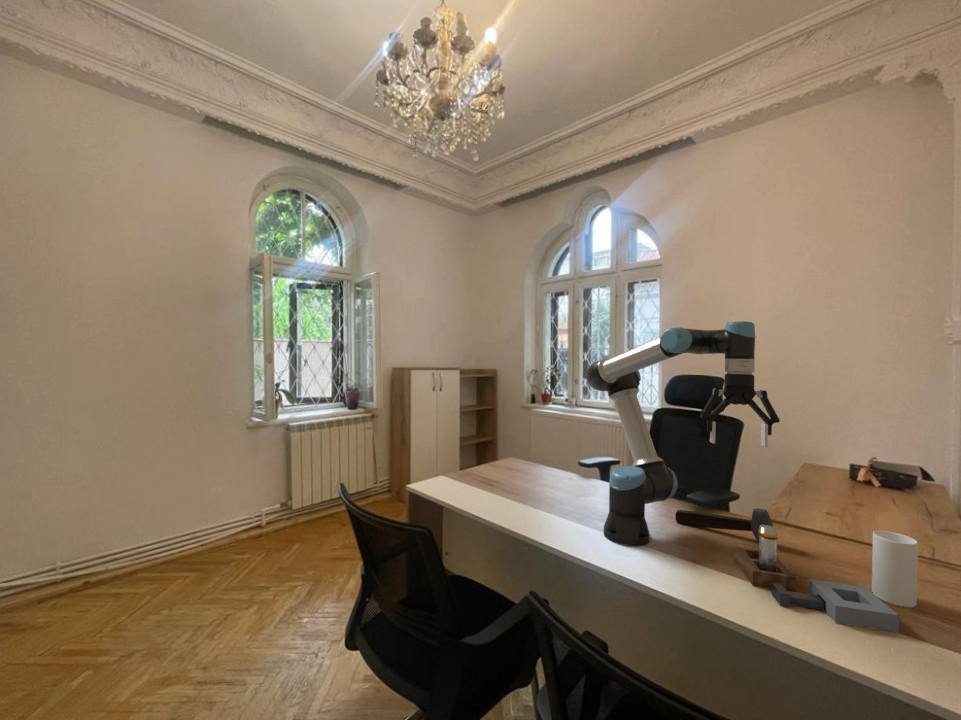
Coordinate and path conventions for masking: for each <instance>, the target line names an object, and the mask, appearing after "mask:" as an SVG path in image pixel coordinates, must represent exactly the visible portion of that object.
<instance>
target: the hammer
mask: <svg viewBox="0 0 961 720" xmlns="http://www.w3.org/2000/svg"><path fill="white" fill-rule="evenodd" d="M674 515H675V521H676V523H677V524H678V525H682V526H687V527H692V528H693V527H694V528H703V529H705V528H706V529H717V530H718V529H719V530H730V531H732V530H733V531H741V532H742V531H743V532H745V531H746V532H752V534H753V536H754V538H755V540H756V542H757V543H758V544H759V529H760V525H769V526H773V527H774V524H773V522H772V519H771V517H770V514H769V512H768V510H767V509H765V508H753V510H752V514H751V519H745V518H739V517H734V516H727V515H720V514H715V513H714V514H713V513H708V512H704V511H703V512H701V511H696V510H695V511H694V510H687V509H686V510H685V509H683V510H682V509H678V510H676V511H675V513H674Z"/></svg>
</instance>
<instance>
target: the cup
mask: <svg viewBox="0 0 961 720" xmlns="http://www.w3.org/2000/svg"><path fill="white" fill-rule="evenodd" d="M918 547H919V543H918V540H916V539H915V538H912V537H910V536H908V535H904V534H901V533H897V532H893V531H888V530H873V531H872V555H871V557H872V558H871V559H872V561H871V563H872V564H871V565H872V566H871V567H872V570H871V571H872V572H871V593H872V592H873V593H872V594H874V595H875V596H876V597H877V598H879V599H880V600H881V601H884V602H886V603H888V604H892V605H894V606H895V605H896V606H898V605H899V607H903V606H904V608H915V607H914V606H916V605H917V606H918V563H919V561H918V557H919V556H918V555H919V554H918V553H919V548H918ZM917 606H916V607H917Z"/></svg>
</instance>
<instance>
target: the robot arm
mask: <svg viewBox="0 0 961 720" xmlns="http://www.w3.org/2000/svg"><path fill="white" fill-rule="evenodd" d="M755 328H756V327H755V323H753V322H752V321H745V320H744V321H743V320H742V321H740V320H739V321H731V322H730V321H729V322H726V323H725V327H724V329H714V330H713V329H711V330H710V329H694V328H684V327H670V328H668V329H666V330H665V329H664V332H663V333H662V334H661V336H659V337H657V338H654V339H652V340H650V341H647V342H645V343H643V344H641V345H639V346H636V347H634V348H631V349H629V350H626V351H625V352H623V353H620V354H618V355H615V356H613V357H611V358H607V357H604V358H602V359H599V360H597V361H594V362H593V363H592V364H591V365H589V366H588V368H587V369H586V370H587V371H586V377H585V378H586V381H587V383H588V384H589V387H591V388H592V389H594V390H596V391H599V392H607V395H608V397H609V399H610V400H611V401H613V402H614V404H615V406H616V410H617V412H618V413H617V414H618V415H619V420H620V422H621V425H622V429H623V432H624V435H625V438H626V441H627V444H628V447H629V450H630V454H631V456H632V460H633V463H632V465H628V466H627V465H622V466H617V467H614V468H613V469H612V470H611V471H610V475H609V479H608V481H609V483H608V484H609V485H608V486H609V487H608V488H609V490H608V491H609V493H608V494H609V500H608V501H609V502H608V505H609V509H608V514H607V516H606V520H605V523H604V524H603V537H604V536H605V538H606V539H607V540H609V541H612V542H613V543H616V544H619V545H622V546H628V547H630V546H631V547H641V546H643V547H644V546H646V545H647V544H649V543H650V542H651V541H650V540H651V537H650V536H651V534H650V530H649V527H648V524H647V519H646V515H645V514H646V512H645V511H646V504H647V505H648V504H652V503H657V502H664V501H667V500H669V499H670V498H672V497H674V496H675V494H676V492H677V490H678V483H679V482H678V479H677V476H676V474H675V471H673V470H672V469H671V468H670V467H669V466H666V464H665V461H664V459H662V458H661V457H659V456H658V453H657V451H656V449H655V446H654V443H653V439H652V436H651V433H650V431H649V428H648V426H647V422H646V418H645V416H644V412H643V410H642V407H641V405H640V401H639V399H638V396H637V395H638V394H639V392H640V389H639V386H640V384H641V382H640V381H641V373H640V371H639V370H643V369H645V368H648V367H650V366H653V365H656V364H658V363H661V362H663V361H666V360H668V359H672V358H675V357H677V356H680V355H682V354H691V355H692V354H695V355H714V354H715V355H716V354H722V355H724V372H726V373H725V374H724V386H723V389H718V388H712V391H711V395H710V397H709V399H708V400H707V403H706V404H705V406H704V408H703V409H702V411H701V413H700V415H699V417H700V418H701V419H703V420H706V431H707V432H708V433H709V442H710V443H711V444H716V431H717V430H716V429H717V428H716V427H717V425H716V424H717V422H716V421H714V420H715V419H716V418H717V417H718V416H719V415H720V414H721V413H722V412H723V411H724V410H725V409H726V408H727V407H728V406H730V405H742V406H746V405H748V406H749V407H750V408H751V409H752V410H753V411H754V413H756V414H757V416H758V417H759V418H760V419H761V420H762V421H763V422H761V425H760V426H761V428H760V430H761V431H760V432H761V433H760V435H761V436H760V446H762V447H765V448H768V447H769V446H768V445H769V436H772V432H773V431H772V429H773V426H772V425H774V424H776V423H780V422H781V421H780V418H779V416H778V414H777V412H776V411H775V409H774V407H773V404H772V403H771V402H770V399H769V398H768V397H769V396H768V391H767V390H764V389H760V390H755V375H754V374H753V373H755V361H756V360H755V351H756V350H755V349H756V348H755V346H756V337H757V336H756V329H755ZM721 395H723V396H724V397H725V398H724V399H723V400H721V402H720V403H719V404H718V405H717V406H716V407H715V408H714V409H713V407H714V405H715V404H716V402H717V400H718V398H719V397H721ZM756 396H757V398H759V399H760V402H761V403H762V405H763V407H764V408H765V411H766V413H767V414H768V415H767V414H766V413H765V412H764V410H762V409H761V407H760V406H759V405H758V404H757V403H756V401H755V400H754V397H756ZM712 409H713V410H712ZM711 410H712V411H711Z"/></svg>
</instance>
